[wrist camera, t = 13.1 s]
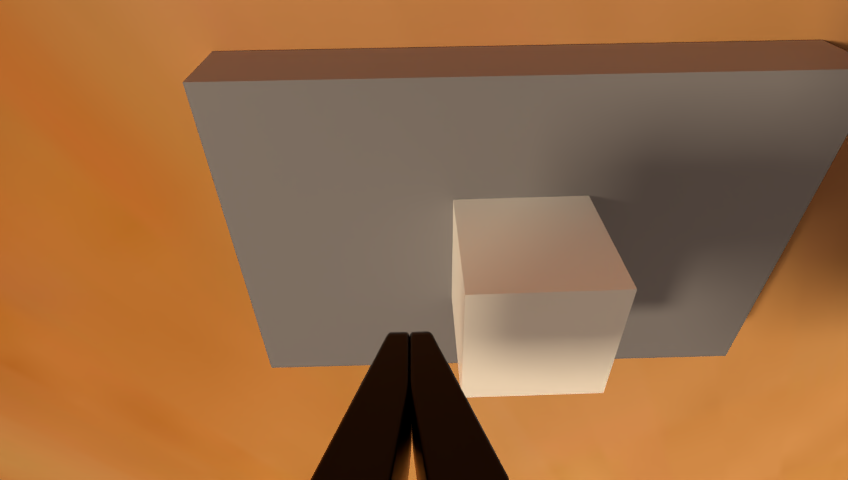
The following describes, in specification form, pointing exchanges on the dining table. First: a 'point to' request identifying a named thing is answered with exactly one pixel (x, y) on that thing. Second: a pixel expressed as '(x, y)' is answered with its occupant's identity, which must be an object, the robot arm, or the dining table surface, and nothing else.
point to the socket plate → (512, 176)
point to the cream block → (536, 296)
